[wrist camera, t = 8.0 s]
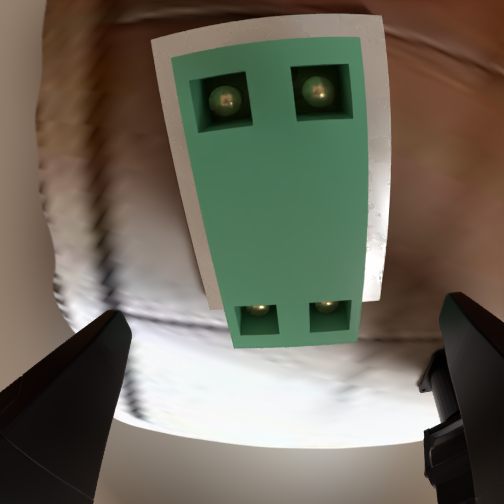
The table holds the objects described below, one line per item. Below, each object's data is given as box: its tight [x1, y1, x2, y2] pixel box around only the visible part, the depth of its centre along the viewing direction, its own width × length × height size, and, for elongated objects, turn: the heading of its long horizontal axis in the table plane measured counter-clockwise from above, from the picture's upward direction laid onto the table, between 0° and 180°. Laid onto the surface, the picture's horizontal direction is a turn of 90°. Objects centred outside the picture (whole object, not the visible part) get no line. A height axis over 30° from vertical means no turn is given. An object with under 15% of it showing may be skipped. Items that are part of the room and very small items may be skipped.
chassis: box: [151, 14, 391, 316], centre depth 16 cm, size 18×12×6 cm, turn 7°
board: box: [171, 37, 369, 348], centre depth 13 cm, size 14×6×2 cm, turn 8°
